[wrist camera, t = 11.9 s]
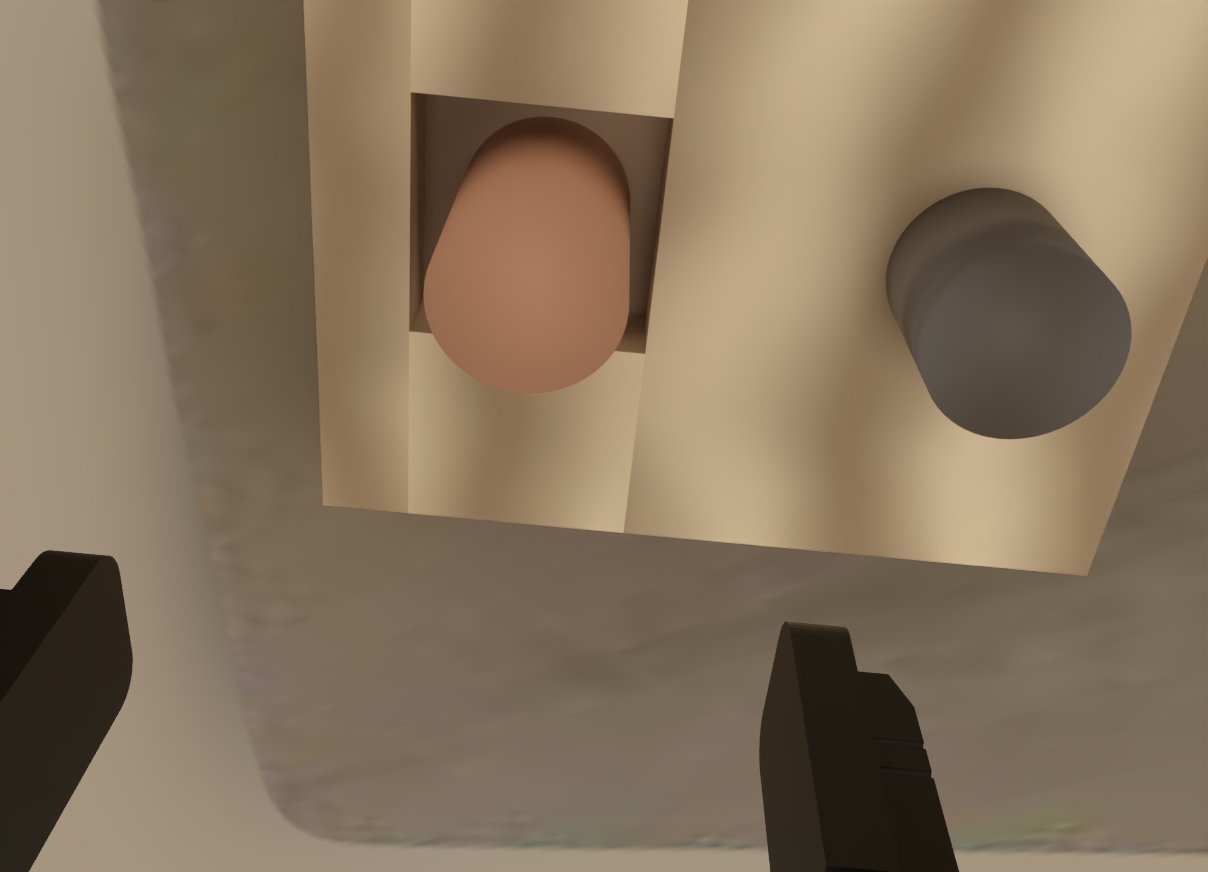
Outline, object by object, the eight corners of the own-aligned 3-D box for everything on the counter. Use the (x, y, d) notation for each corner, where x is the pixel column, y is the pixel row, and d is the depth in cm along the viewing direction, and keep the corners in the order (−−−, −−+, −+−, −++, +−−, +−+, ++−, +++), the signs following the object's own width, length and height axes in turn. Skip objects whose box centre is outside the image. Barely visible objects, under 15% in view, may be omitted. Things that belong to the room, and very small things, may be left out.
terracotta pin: (638, 124, 27) (638, 213, 21) (622, 284, 29) (619, 401, 24) (464, 109, 27) (424, 194, 21) (460, 271, 29) (422, 384, 23)
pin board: (1265, -105, 25) (1466, -62, 19) (1052, 511, 33) (1144, 680, 27) (332, -203, 24) (229, -191, 18) (348, 445, 32) (281, 602, 26)
